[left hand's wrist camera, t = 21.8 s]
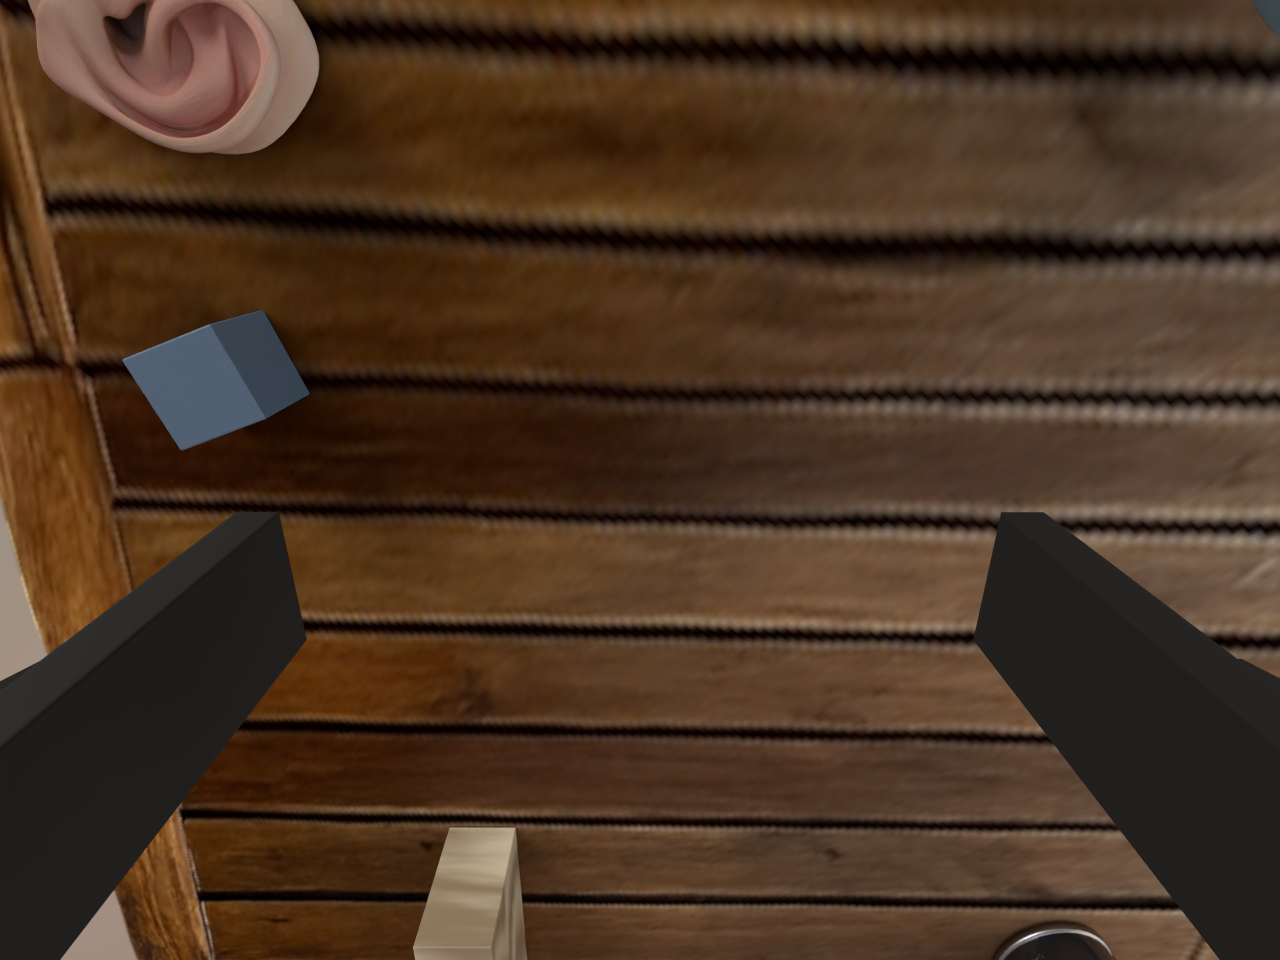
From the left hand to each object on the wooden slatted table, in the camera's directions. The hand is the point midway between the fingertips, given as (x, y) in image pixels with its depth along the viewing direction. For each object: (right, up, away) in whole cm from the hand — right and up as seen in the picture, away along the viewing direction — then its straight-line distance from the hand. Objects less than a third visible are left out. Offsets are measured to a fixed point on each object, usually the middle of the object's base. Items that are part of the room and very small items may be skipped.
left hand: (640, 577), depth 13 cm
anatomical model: (-22, +24, +19) cm, 38 cm away
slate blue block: (-22, +8, +26) cm, 35 cm away
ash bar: (-12, -36, +43) cm, 57 cm away
